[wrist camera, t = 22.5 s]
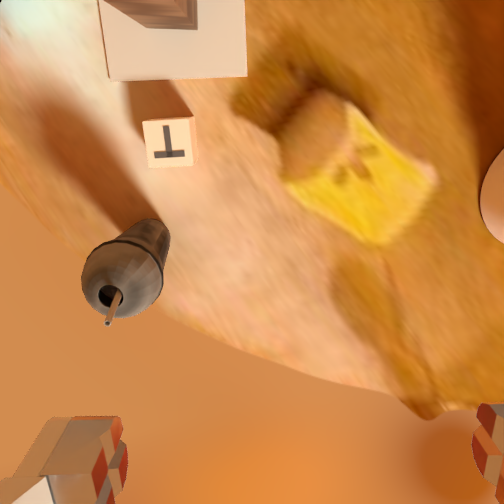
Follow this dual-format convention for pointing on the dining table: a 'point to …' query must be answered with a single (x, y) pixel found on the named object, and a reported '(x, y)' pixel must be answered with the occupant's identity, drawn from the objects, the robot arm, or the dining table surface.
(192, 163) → the letter cube
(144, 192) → the dining table surface
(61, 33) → the dining table surface
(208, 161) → the dining table surface
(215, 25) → the white square plate
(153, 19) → the walnut block
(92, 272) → the beverage cup
